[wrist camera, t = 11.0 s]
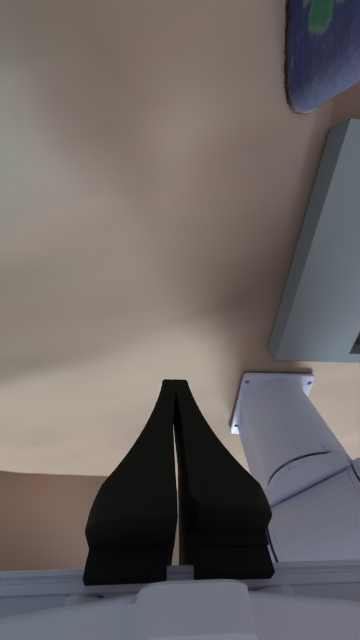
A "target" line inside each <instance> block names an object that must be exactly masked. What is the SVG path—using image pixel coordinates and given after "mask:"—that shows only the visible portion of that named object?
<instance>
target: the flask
mask: <svg viewBox="0 0 360 640" xmlns="http://www.w3.org/2000/svg"><path fill="white" fill-rule="evenodd" d="M286 14H287V16H286V19H287V21H286V30H285V40H286V41H285V65H284V67H285V69H284V72H285V81H284V83H285V87H284V88H285V92H286V97H287V101H288V102H287V103H288V104H289V107H290V109H291V110H292V111H294V112H295V113H298V114H300V113H301V114H308V113H310V112H313V111H315V110H316V109H317V108H318V107H320V106H321V105H323V104H324V103H326V102H327V101H329V100H330V99H332V98H333V97H334V96H336V95H338V94H340V93H342V92H344V91H345V90H347V89H348V88H350V87H352V86H353V85H354V84H356V83H357V82H358V81H360V0H287V2H286Z"/></svg>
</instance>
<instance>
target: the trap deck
mask: <svg viewBox="0 0 360 640" xmlns="http://www.w3.org/2000/svg"><path fill="white" fill-rule="evenodd" d="M268 350H269V351H270V353H271V354H272V356H273V358H274V359H275V360H279V361H318V362H357V363H360V119H349V120H346V121H344V122H342V123H340V124H337V125H335V126H333V127H331V128H330V130H329V134H328V137H327V141H326V144H325V148H324V151H323V155H322V158H321V162H320V165H319V169H318V172H317V176H316V180H315V183H314V187H313V190H312V194H311V197H310V201H309V204H308V208H307V211H306V215H305V218H304V222H303V225H302V229H301V232H300V236H299V239H298V243H297V246H296V250H295V253H294V257H293V261H292V264H291V268H290V271H289V275H288V278H287V282H286V285H285V289H284V292H283V296H282V299H281V303H280V306H279V310H278V313H277V317H276V320H275V324H274V327H273V331H272V335H271V338H270V342H269V345H268Z"/></svg>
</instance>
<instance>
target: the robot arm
mask: <svg viewBox="0 0 360 640" xmlns="http://www.w3.org/2000/svg"><path fill="white" fill-rule="evenodd" d="M246 380H248V381H246ZM314 381H315V377H314V375H313V374H291V373H245V374H244V375H243V378H242V382H241V386H240V390H239V394H238V399H237V403H236V407H235V411H234V415H233V419H232V423H231V428H230V431H231V433H234V434H239V436H240V439H241V443H242V446H243V449H244V453H245V456H246V459H247V463H248V466H249V469H250V473H251V475H250V474H249V473H248V472H247V471H246V470H245V469H244V468H243V467H242V466H241V465H240V464H239V463H238V462H237V460H236V459H235V458H234V457H233V456H232V455H231V454H230V452H229V451H228V450H227V449H226V448H225V447H224V445H223V444H222V443H221V442H220V440H219V439H218V438H217V436H216V435H215V434H214V432H213V431H212V429H211V428H210V426H209V425H208V423H207V422H206V420H205V418H204V417H203V415H202V413H201V411H200V410H199V408H198V406H197V404H196V402H195V400H194V398H193V396H192V393H191V391H190V388H189V386H188V382H187V381H186V380H169V379H165V380H163V382H162V388H161V391H160V394H159V397H158V400H157V402H156V405H155V407H154V410H153V412H152V414H151V416H150V418H149V420H148V422H147V424H146V426H145V427H144V429H143V431H142V432H141V434H140V436H139V437H138V439H137V440H136V442H135V444H134V445H133V447H132V448H131V449H130V451H129V452H128V453H127V455H126V456H125V457H124V459H123V460H122V461H121V463H120V464H119V465H118V467H117V468H116V469H115V470H114V471H113V472H112V474H111V475H110V476H109V477H108V478H107V479H106V480H105V482H104V483H103V484H102V486H101V488H100V490H99V492H98V494H97V496H96V498H95V500H94V503H93V505H92V508H91V511H90V513H89V517H88V521H87V525H86V529H85V535H86V539H87V543H88V546H89V553H88V557H87V561H86V566H85V569H65V570H64V569H63V570H34V571H5V572H0V640H360V458H356V459H355V460H352V459H351V458H350V457H349V455H348V454H347V452H346V451H345V450H344V448H343V447H342V445H341V444H340V442H339V441H338V440H337V438H336V437H335V435H334V434H333V432H332V431H331V430H330V428H329V427H328V425H327V424H326V423H325V421H324V420H323V418H322V417H321V415H320V414H319V413H318V411H317V410H316V408H315V407H314V405H313V404H312V403H311V401H310V400H309V398H308V395H309V392H310V390H311V388H312V385H313V383H314ZM173 424H174V434H175V443H176V453H177V463H178V501H179V566H171V563H172V555H173V548H174V543H175V542H174V541H175V533H176V526H177V517H178V512H177V490H176V475H175V457H174V435H173Z"/></svg>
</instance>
